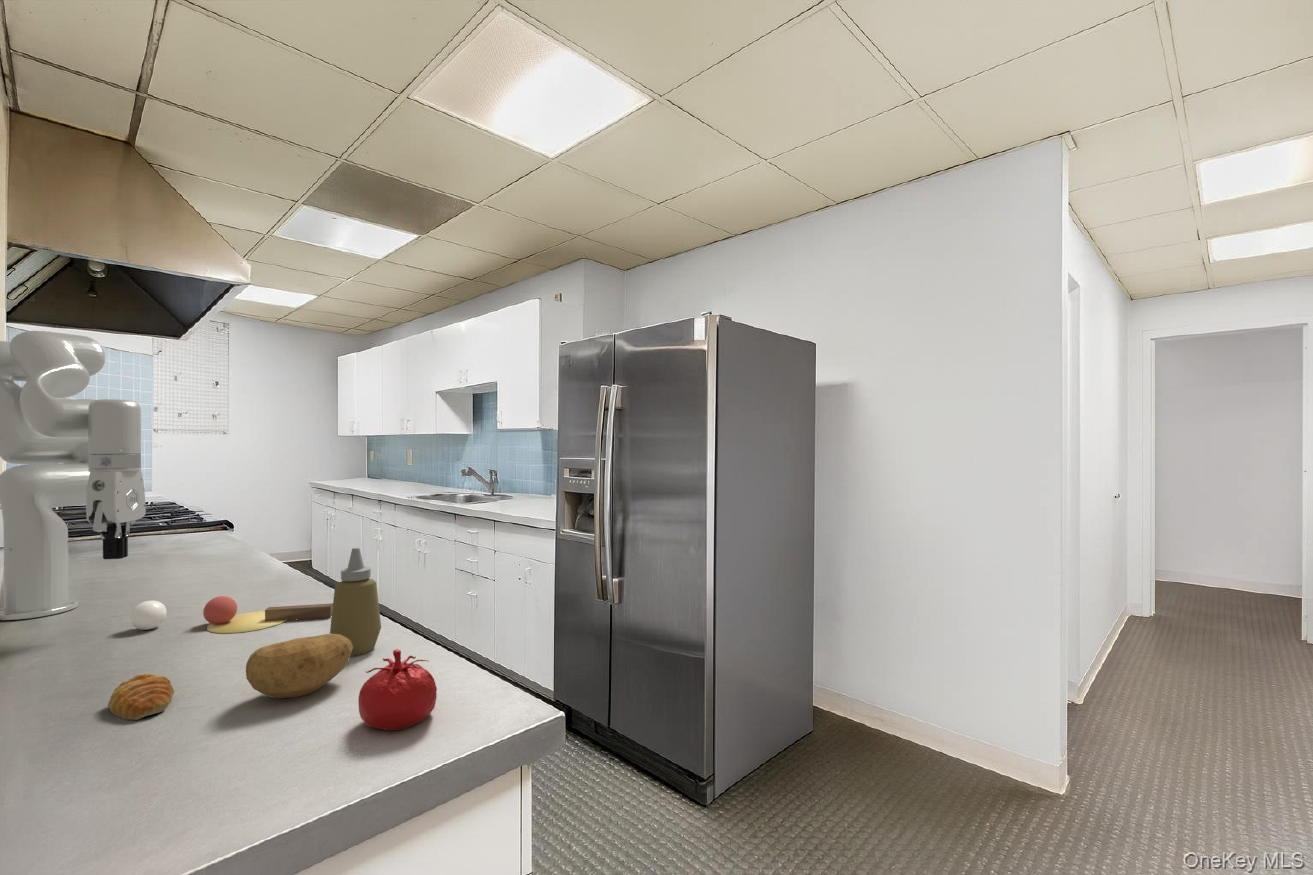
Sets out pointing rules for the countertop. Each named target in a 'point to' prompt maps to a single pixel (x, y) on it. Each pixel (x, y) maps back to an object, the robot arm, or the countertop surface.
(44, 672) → the countertop surface
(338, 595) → the squeeze bottle
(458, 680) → the countertop surface
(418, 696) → the red tomato
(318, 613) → the rail
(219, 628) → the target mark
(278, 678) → the potato
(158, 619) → the white egg
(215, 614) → the object ball
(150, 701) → the pastry
